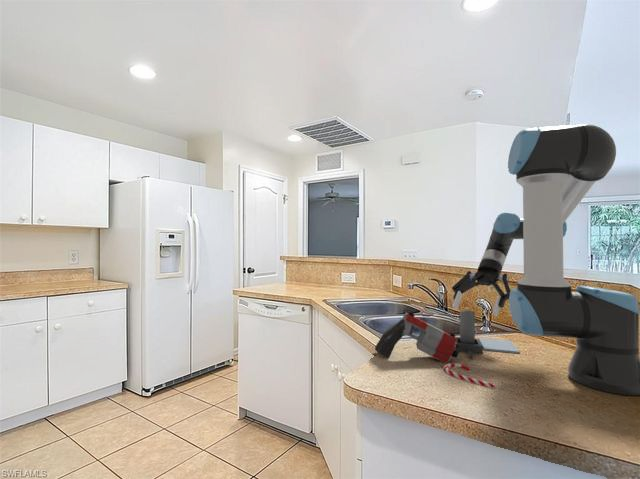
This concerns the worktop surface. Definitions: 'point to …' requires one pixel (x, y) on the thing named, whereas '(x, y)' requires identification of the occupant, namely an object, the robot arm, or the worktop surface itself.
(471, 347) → the grey recessed block
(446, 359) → the toy gun
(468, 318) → the rod
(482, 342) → the slate mat
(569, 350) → the worktop surface
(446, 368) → the candy cane
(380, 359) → the worktop surface
